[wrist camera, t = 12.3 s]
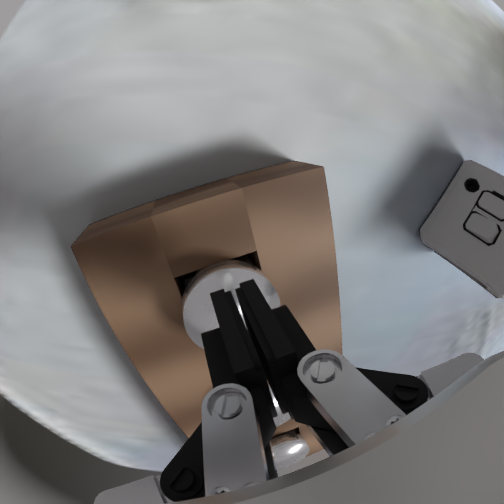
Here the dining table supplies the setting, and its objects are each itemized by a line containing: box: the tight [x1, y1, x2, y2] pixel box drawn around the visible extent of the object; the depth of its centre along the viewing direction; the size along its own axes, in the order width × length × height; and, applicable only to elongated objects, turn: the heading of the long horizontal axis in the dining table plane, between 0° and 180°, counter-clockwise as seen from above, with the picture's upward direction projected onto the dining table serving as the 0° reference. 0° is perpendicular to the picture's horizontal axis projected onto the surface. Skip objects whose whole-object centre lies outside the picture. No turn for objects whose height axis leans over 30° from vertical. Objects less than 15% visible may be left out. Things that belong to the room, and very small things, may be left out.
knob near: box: [182, 254, 280, 349], centre depth 15 cm, size 4×4×4 cm
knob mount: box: [71, 161, 342, 457], centre depth 19 cm, size 26×12×4 cm, turn 13°
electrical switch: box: [420, 160, 504, 298], centre depth 18 cm, size 9×5×9 cm, turn 138°
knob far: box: [270, 429, 310, 469], centre depth 21 cm, size 4×4×4 cm
